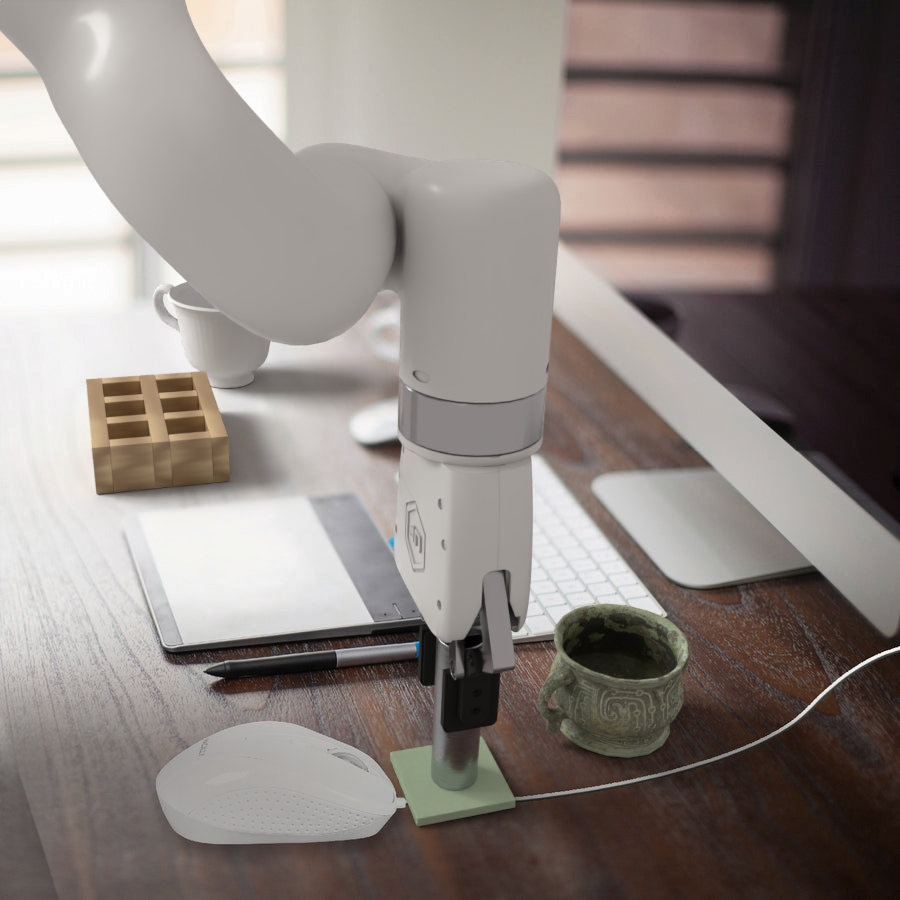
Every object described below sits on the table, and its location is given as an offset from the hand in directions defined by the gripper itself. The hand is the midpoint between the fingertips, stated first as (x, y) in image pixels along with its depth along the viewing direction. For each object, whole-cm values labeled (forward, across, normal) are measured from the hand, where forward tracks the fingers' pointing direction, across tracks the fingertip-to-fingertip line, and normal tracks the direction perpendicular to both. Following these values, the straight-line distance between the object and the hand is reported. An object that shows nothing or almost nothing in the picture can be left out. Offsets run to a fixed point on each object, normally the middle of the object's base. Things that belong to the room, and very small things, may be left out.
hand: (456, 700), depth 66 cm
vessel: (+6, -3, +12) cm, 14 cm away
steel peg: (+5, 0, 0) cm, 5 cm away
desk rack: (+6, -52, -13) cm, 54 cm away
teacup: (+6, -70, -5) cm, 70 cm away
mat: (+6, 0, 0) cm, 6 cm away
